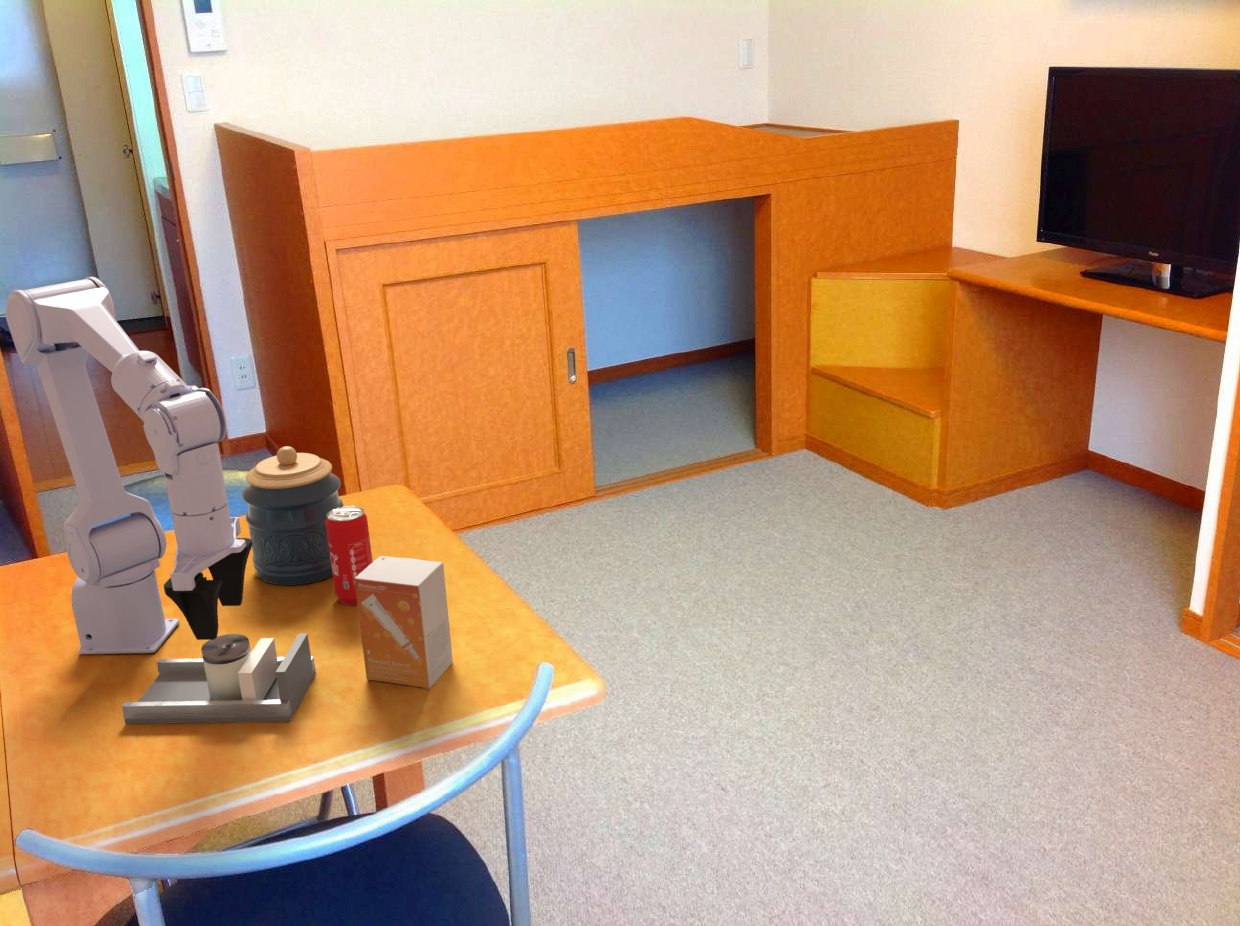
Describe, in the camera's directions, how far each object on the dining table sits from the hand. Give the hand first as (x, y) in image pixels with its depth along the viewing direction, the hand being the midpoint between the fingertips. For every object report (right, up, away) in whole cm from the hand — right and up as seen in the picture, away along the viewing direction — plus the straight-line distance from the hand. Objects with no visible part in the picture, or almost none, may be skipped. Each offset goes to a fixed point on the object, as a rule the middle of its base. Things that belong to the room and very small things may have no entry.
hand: (219, 620), depth 127 cm
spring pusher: (+4, -9, +3) cm, 10 cm away
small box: (+20, -7, +7) cm, 22 cm away
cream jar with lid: (+1, -8, +3) cm, 9 cm away
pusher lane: (-1, -9, +3) cm, 9 cm away
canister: (0, +3, +35) cm, 35 cm away
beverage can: (+9, -1, +25) cm, 27 cm away
